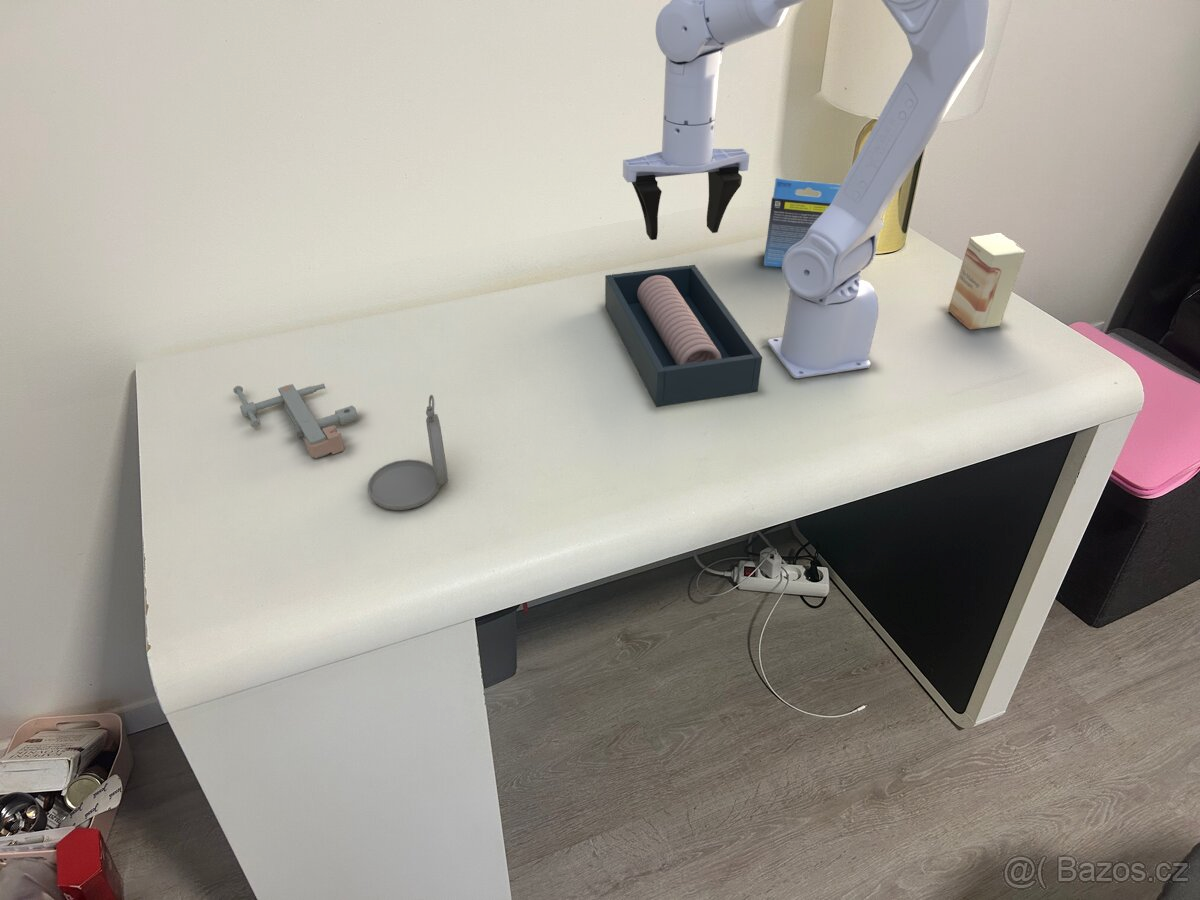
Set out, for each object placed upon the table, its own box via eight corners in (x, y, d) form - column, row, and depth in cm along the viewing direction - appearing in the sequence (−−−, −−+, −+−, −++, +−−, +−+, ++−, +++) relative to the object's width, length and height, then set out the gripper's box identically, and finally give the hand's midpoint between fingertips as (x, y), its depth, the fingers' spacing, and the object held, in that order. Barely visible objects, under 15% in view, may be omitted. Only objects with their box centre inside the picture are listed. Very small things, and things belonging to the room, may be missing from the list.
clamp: (368, 424, 84) (268, 458, 80) (372, 441, 86) (273, 476, 82) (320, 355, 94) (228, 382, 90) (324, 371, 96) (234, 399, 92)
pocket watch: (355, 491, 80) (334, 405, 74) (426, 450, 85) (412, 366, 78) (408, 532, 76) (390, 445, 69) (480, 486, 80) (469, 401, 74)
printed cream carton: (945, 310, 106) (967, 235, 100) (977, 306, 107) (1001, 231, 100) (969, 331, 102) (993, 254, 96) (1001, 327, 103) (1028, 250, 96)
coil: (727, 347, 90) (674, 271, 104) (686, 349, 89) (638, 272, 103) (719, 384, 93) (668, 305, 107) (679, 386, 92) (633, 306, 105)
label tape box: (829, 260, 117) (845, 173, 109) (828, 274, 114) (845, 184, 106) (765, 254, 118) (776, 167, 110) (762, 267, 115) (774, 179, 107)
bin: (692, 296, 109) (694, 264, 106) (757, 391, 92) (762, 356, 90) (605, 307, 107) (605, 275, 104) (656, 407, 90) (657, 371, 87)
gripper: (737, 101, 98) (726, 213, 106) (616, 111, 95) (615, 225, 104) (761, 120, 92) (748, 237, 101) (633, 131, 90) (630, 250, 98)
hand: (682, 232), depth 102 cm, fingers open, 7 cm apart
